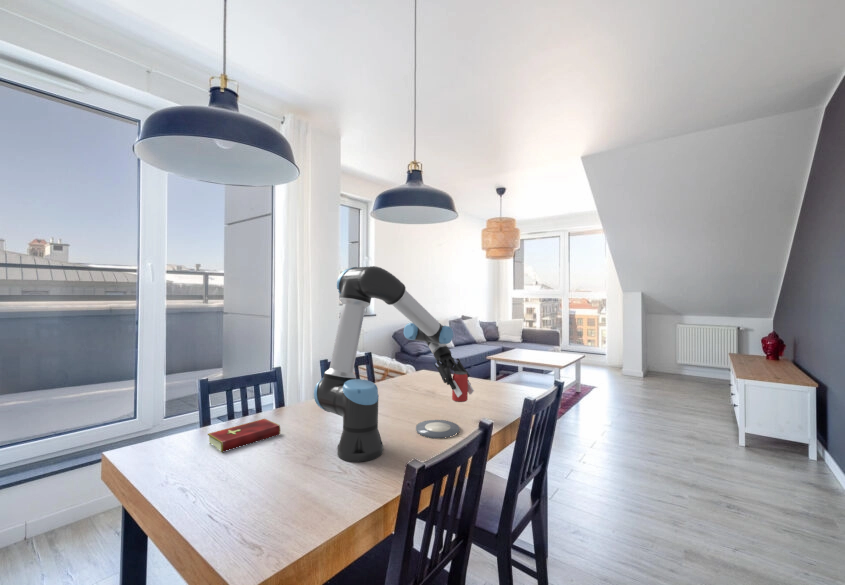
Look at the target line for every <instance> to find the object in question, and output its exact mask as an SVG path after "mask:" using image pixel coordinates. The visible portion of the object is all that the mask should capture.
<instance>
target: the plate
mask: <svg viewBox="0 0 845 585" xmlns="http://www.w3.org/2000/svg"><path fill="white" fill-rule="evenodd" d="M416 431H417V432H416ZM415 432H416V433H417V434H418V435H419V434H420V435H419V436H421V435H422V436H421V437H424V436H425V437H424V438H428V437H429V438H428V439H434V438H444V439H446V438H445V437H450V436H453V435H455V434H456V433H458V432H459V433H460V425H458V424H457V423H456V422H453V421H450V420H447V419H445V420H444V419H427V420H424V421H420V422H419V423H418V424H416V426H415ZM459 433H458V434H459ZM453 437H454V436H453ZM450 438H451V437H450Z"/></svg>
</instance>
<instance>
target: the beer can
mask: <svg viewBox="0 0 845 585" xmlns="http://www.w3.org/2000/svg"><path fill="white" fill-rule="evenodd" d="M467 372H468V371H467ZM467 372H464V371H455V372H454V371H453V375H452V379H453V381H454V380H455V382H456V383H457V385H458V387H459V389H460V390H461V392H462V394H461V396H460V397H457V395H456V394H455V392H454V390H453V389H452V388H451V390H452V391H451V395H452V396H451V400H452V401H454V402H456V403H465V402H467V401H468V398H469V397H468V394H469V393H468V380H469V377H468V376H467Z"/></svg>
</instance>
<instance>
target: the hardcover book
mask: <svg viewBox="0 0 845 585" xmlns="http://www.w3.org/2000/svg"><path fill="white" fill-rule="evenodd" d="M279 434H280V435H281V424H278V423H277V422H274V421H271V420H269V419H267V418H262V419H257V420H254V421H250V422H247V423H242V424H240V425H239V424H237V425H235V426H231V427H227V428H224V429H221V430H220V429H219V430H217V431H212V432H209V433H207V436H208V437H209V438H208V443H209V442H210V443H211V444H213V445H214V446H216V447H217V448H218V449H220V450H221V451H220V450H219V451H220V453H221V452H222V453H224V452H223V451H225V452H227V451H226V450H229V449H232V450H234V449H233V448H235V449H237V448H236V447H238V448H240V447H239V446H241V447H244V446H243V445H245V446H247V445H246V444H248V445H251V444H254V443H257V442H256V441H258V442H260V440H261V441H263V439H264V440H267V439H270V438H269V437H271V438H273V437H272V436H274V437H276V435H277V436H280V435H279ZM266 438H267V439H266ZM253 442H254V443H253ZM250 443H251V444H250ZM211 444H210V445H211ZM214 446H213V447H214ZM217 448H216V449H217ZM218 449H217V450H218ZM229 451H230V450H229Z"/></svg>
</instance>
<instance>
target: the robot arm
mask: <svg viewBox="0 0 845 585" xmlns="http://www.w3.org/2000/svg"><path fill="white" fill-rule="evenodd" d="M406 288H407V287H406V286H405V284H404V283H403V282H402V281H401V280H400V279H399V278H397V277H396V276H395V275H394V274H392V273H391V272H389V271H388V270H386V269H384V268H382V267H379V266H376V265H375V266H374V265H369V266H360V267H359V266H358V267H357V266H353V267H350V268H346V269H344V270H343V271H342V272H341V273H340V274H339V275H338V278H337V281H336V289H337V290H338V293H339V300H340V302H341V304H342V306H341V311H340V315H339V321H338V325H337V330H336V335H335V340H334V345H333V349H332V353H331V354H332V355H331V359H330V364H329V368H328V369H326V370H325V371H324V374H323V377H322V378H320V379H319V381H318V382H317V383H316V384H315V387H314V389H313V398H314V401H315V404H316V405H317V406H318V407H319V408H320V409H322V410H324V411H326V412H327V413H332V414H335V415H337V416H340V417H342V433H341V435H340V438H339V439H340V440H339V442H338V444H337V448H336V450H337V452H336V454H337V457H338V458H339V459H341V460H343V461H347V462H351V463H352V462H353V463H361V462H368V461H372V460H375V459H377V458H378V457H380V456H381V455H382V454H383V452H384V448H383V447H384V443H383V441H382V437H381V434H380V432H379V398H380V397H379V388H378V386H377V384H376V383H374V382H373V381H370V380H367V379H361V378H357V376H356V375H355V373H354V368H355V363H356V359H357V352H358V348H359V342H360V336H361V332H362V327H363V321H364V317H365V316H364V315H365V311H366V308H367V307H369V306H370V305H371V301H372V299H379V300H381V301H383V302H384V303H386V305H389V306H393V307H394V308H395V309H396V310H397V311H398V312H400V313H401V314H402V315H403V316H404V317H405V318H406V319H407V320H409V321H410V322H409V323H406V325H405V326H404V328H403V335H404V338H405V339H407V340H410V341H418V342H425V343H426V345H427V346H428V348H429V349H430V351H431V353H432V354H433V357H434V359H435V360H436V362H435V363H434V366H435V368H436V369H437V371H438V373H439V375H440V377H441V380H442V382H443V383H444V384H446V386H447V385H448V386H450V388H451V390H452V389H453V390H454V392H455V394H456V395H457V397H460V396H461V394H462V392H461V390H460V389H459V387H458V385H457V383H456V382H455V380H454V381H453V375H452V373H451V371H453V373H454V372H455V371H464V372H467V376H468V378H469V377H470V374H469V372H468V371H467V370H466V368H465V367H464V365H463V364H462V362H461V360H460V358H454V357H453V356H452V351H451V350H450V348H449V347H448V344H450V343H451V342H452V341H453V338H454V331H453V328H452V327H451V326H448V325H443V324H441V323H440V322H439V321H438V320H437V319H436V318H435V317H434V316H433V315H432V314H431V313H430V312H429V311H428V310H427V309H426V308H425V307H424V306H423V305H421V303H419V301H418V300H417V299H416V298H415V297H413V296H412V295H411V293H409V292H408V291H407V289H406ZM474 392H475V390H474V388H473V386H472V384H471V382H470V380H469V379H468V394H469V396H470V395H472V394H473V393H474Z"/></svg>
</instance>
